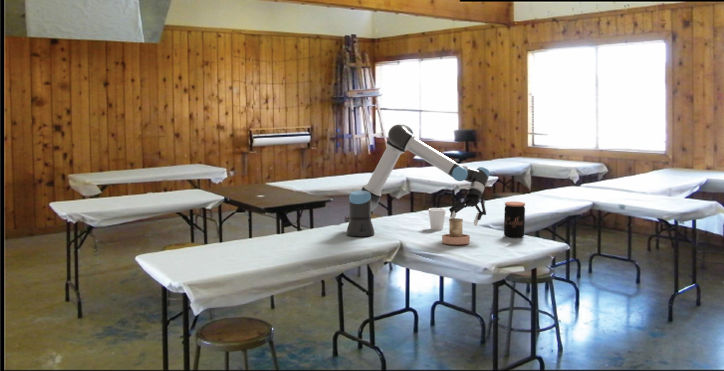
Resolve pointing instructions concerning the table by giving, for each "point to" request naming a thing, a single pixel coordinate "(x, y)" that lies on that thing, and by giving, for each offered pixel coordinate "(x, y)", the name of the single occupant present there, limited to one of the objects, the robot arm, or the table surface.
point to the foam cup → (437, 218)
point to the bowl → (455, 239)
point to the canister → (455, 227)
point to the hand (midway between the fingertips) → (462, 223)
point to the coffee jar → (514, 219)
